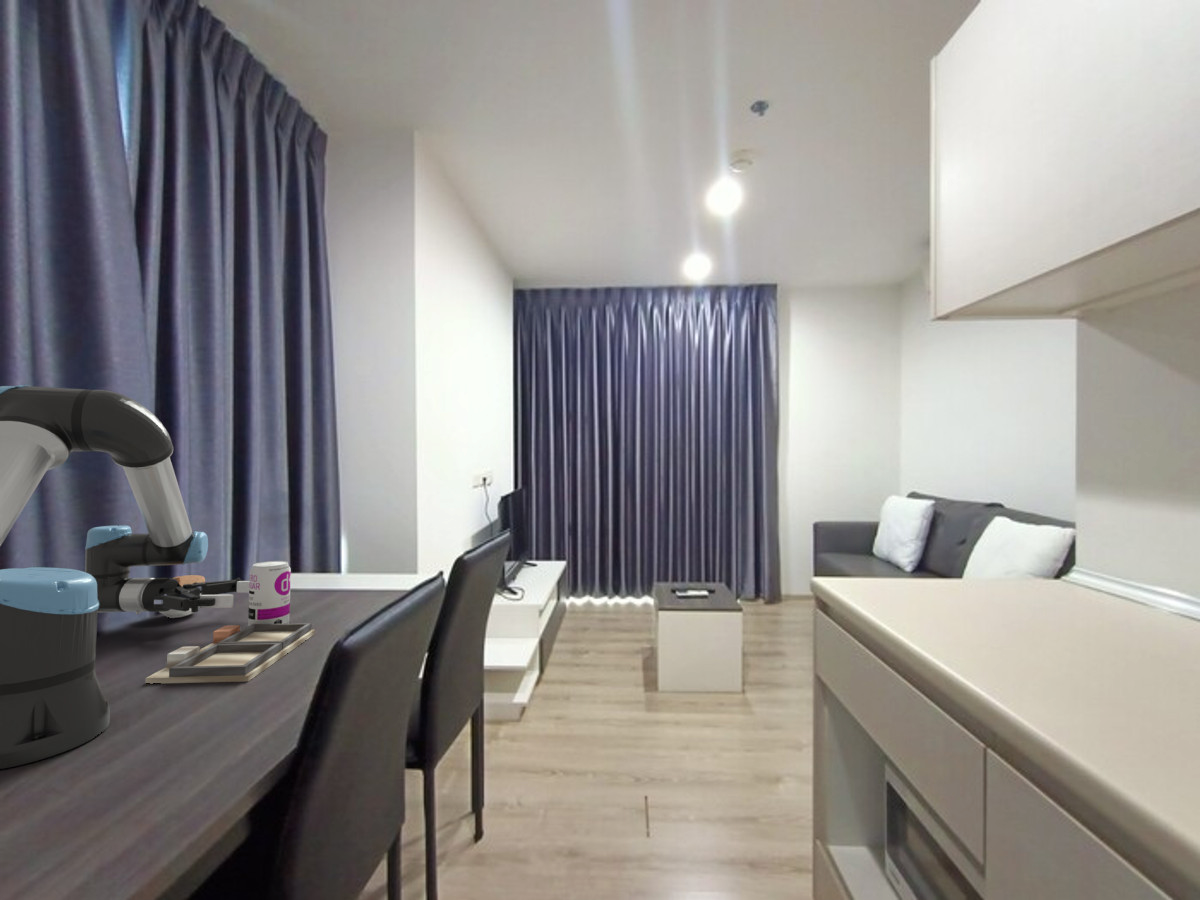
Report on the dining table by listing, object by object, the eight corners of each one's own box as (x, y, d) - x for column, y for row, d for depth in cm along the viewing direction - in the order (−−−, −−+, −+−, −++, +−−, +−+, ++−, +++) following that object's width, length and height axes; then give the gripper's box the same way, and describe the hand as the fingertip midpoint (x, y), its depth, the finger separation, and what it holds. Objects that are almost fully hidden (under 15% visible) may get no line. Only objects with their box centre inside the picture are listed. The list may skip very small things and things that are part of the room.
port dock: (248, 681, 93) (248, 661, 93) (145, 683, 91) (145, 663, 91) (315, 633, 119) (315, 618, 119) (235, 635, 117) (236, 619, 117)
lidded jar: (147, 626, 125) (141, 588, 124) (163, 607, 135) (158, 572, 133) (201, 617, 129) (197, 581, 128) (213, 600, 139) (209, 566, 138)
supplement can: (297, 623, 126) (298, 560, 127) (272, 634, 118) (274, 567, 118) (265, 622, 127) (267, 560, 127) (238, 633, 119) (240, 566, 119)
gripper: (188, 597, 133) (276, 596, 135) (106, 627, 108) (215, 626, 110) (189, 567, 133) (277, 567, 135) (107, 591, 109) (216, 590, 111)
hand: (250, 593), depth 123 cm, fingers open, 13 cm apart
